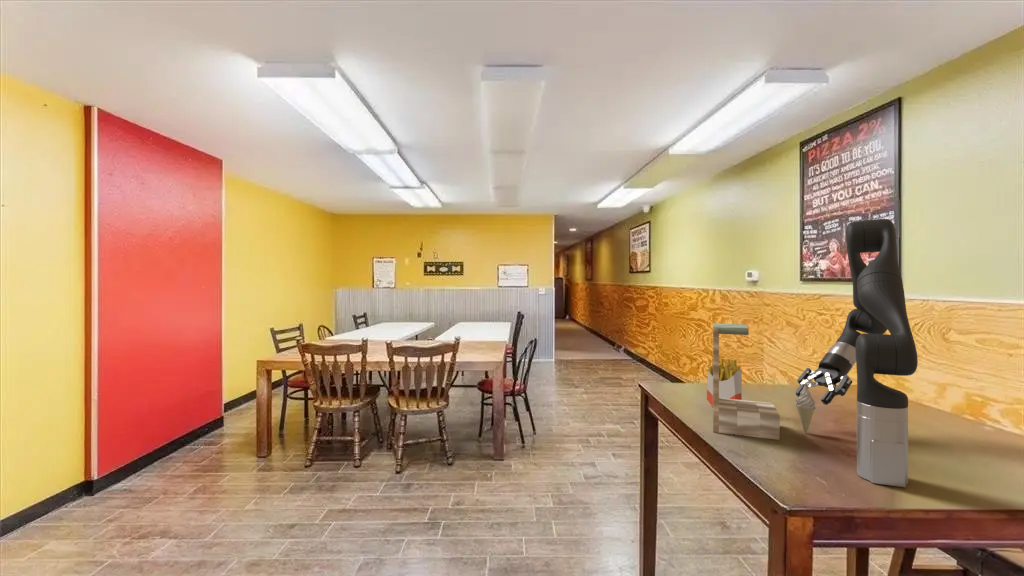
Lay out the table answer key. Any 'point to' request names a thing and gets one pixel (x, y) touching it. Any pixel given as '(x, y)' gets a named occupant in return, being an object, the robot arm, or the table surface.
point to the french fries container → (726, 381)
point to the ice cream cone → (805, 408)
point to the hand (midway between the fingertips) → (810, 399)
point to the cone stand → (740, 401)
